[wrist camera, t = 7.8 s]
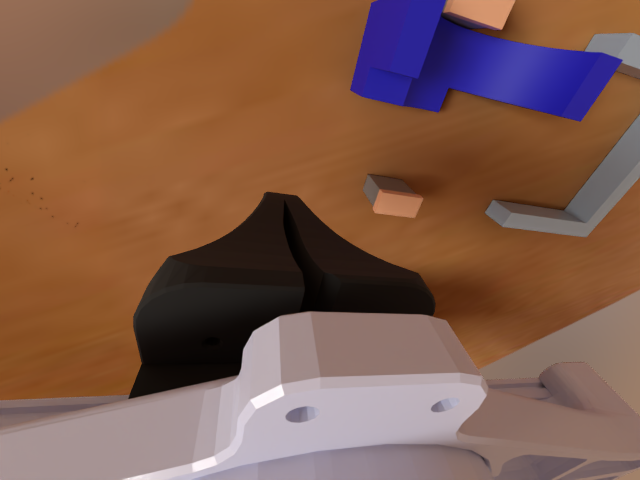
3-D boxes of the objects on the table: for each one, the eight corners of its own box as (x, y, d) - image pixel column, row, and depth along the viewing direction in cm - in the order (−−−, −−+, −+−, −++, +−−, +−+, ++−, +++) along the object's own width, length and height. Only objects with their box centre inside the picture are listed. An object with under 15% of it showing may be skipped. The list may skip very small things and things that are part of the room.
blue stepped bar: (349, 89, 18) (378, 106, 14) (370, 3, 16) (415, -15, 11) (495, 124, 21) (562, 147, 16) (532, 55, 19) (623, 59, 14)
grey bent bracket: (564, 224, 28) (586, 237, 26) (484, 212, 26) (502, 226, 24) (690, 70, 21) (732, 72, 19) (595, 34, 18) (633, 33, 17)
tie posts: (396, 196, 23) (414, 218, 21) (361, 191, 23) (375, 212, 20) (475, -1, 16) (520, -11, 14) (428, -18, 16) (465, -32, 13)
